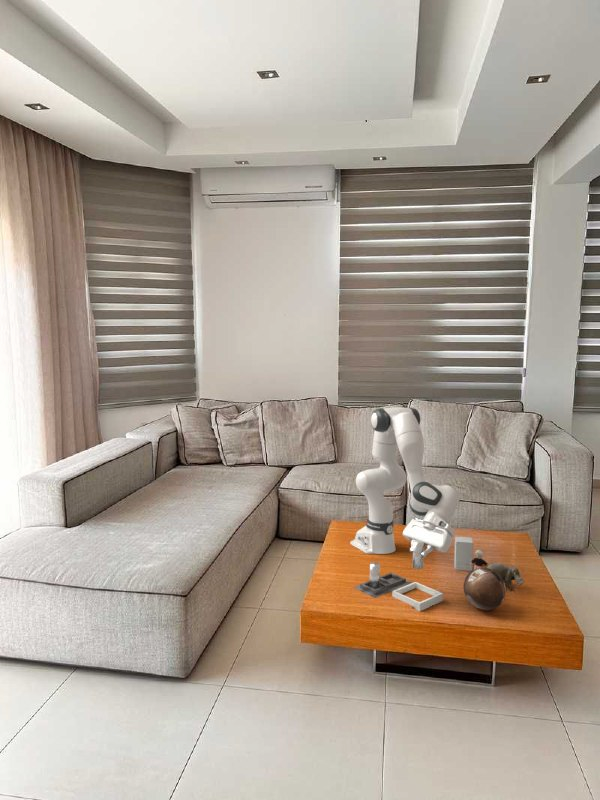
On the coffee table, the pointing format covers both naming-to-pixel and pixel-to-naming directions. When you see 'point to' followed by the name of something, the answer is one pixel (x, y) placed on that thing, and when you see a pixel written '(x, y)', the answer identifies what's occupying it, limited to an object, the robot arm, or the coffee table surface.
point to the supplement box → (463, 553)
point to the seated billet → (374, 575)
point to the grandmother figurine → (479, 560)
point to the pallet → (384, 585)
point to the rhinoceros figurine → (507, 573)
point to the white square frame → (416, 605)
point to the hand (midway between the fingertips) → (417, 554)
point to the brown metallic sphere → (484, 588)
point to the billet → (418, 554)
